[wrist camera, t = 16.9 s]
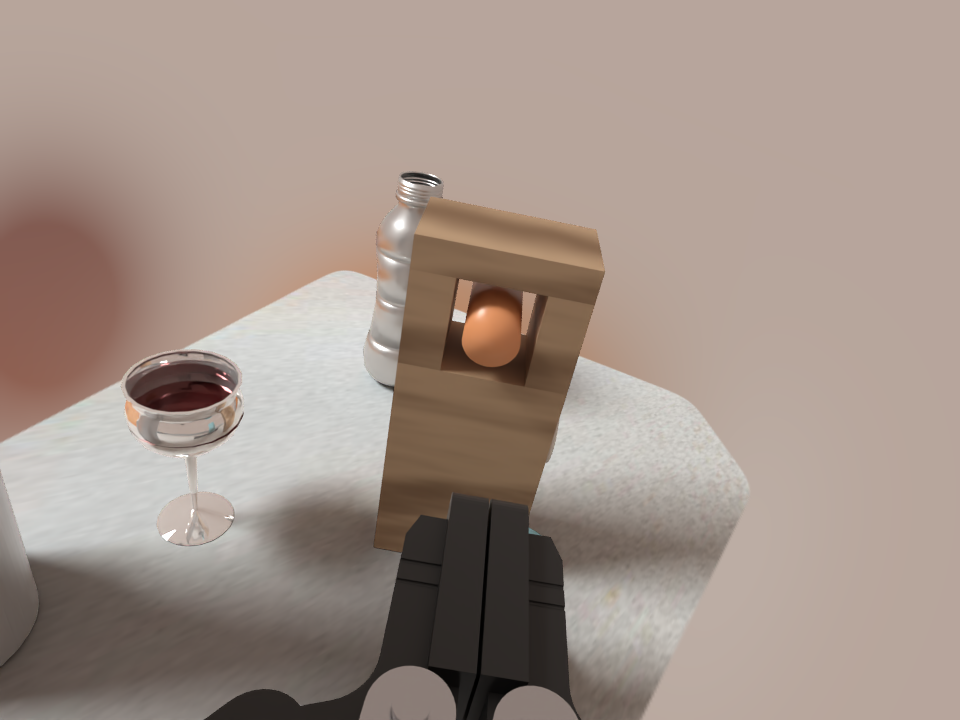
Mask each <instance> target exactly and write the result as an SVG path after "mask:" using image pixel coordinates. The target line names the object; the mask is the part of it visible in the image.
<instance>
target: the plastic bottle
mask: <svg viewBox="0 0 960 720" xmlns="http://www.w3.org/2000/svg"><path fill="white" fill-rule="evenodd" d="M442 193H443V180H441V179H440V178H439V177H437V176H434V175H431V174H428V173H423V172H414V171H409V172H403V173H401V174H400V175H399V180H398V189H397V191H396V198H397V200H399V202H398V204H397V205H396V206H395V207H394V208H393V209H392V210H391V211H390V212H389V213H388V214H387V215H386V216H385V218H384V219H383V220H382V222H381V223H380V226H379V228H378V231H377V235H376V246H377V247H376V249H377V272H378V275H377V292H376V303H375V308H374V313H373V317H372V322H371V327H370V330H369V332H368V335H367V338H366V341H365V345H364V349H363V356H364V365H365V368H366V369H367V371H368V372H369V374H370V375H371V377H373V378H374V379H375V380H376V381H378V382H380V383H382V384H385V385H388V386H393V387H394V386H395V378H396V370H397V362H398V355H399V347H400V339H401V332H402V324H403V316H404V309H405V301H406V293H407V286H408V278H409V270H410V263H411V255H412V247H413V239H414V233H415V231H416V229H417V226H418V224H419V222H420V220H421V217H422V215H423V213H424V211H425V208H426V206H427V204H428V202H429V199H430V197H436V198H441V199H443V197H442Z"/></svg>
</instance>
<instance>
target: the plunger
mask: <svg viewBox="0 0 960 720" xmlns="http://www.w3.org/2000/svg"><path fill="white" fill-rule="evenodd" d="M522 298H523V291H519V290H514V289H509V288H504V287H499V286H494V285H488V284H483V283H478V282H473V285H472V291H471V295H470V301H469V305H468V310H467V316H466V321H465V326H464V331H463V336H462V346H463V349H464V351H465V353H466V355H467V356H468V357H469V358H470V359H471V360H472V361H474V362H475V363H477V364H479V365H482V366H486V367H498V366H502V365H505V364H507V363H509V362H510V361H512V360H513V359H514V358H515V357H516V355H517V354H518V352H519V349H520V343H521V321H522V320H521V319H522Z"/></svg>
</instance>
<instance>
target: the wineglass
mask: <svg viewBox="0 0 960 720" xmlns="http://www.w3.org/2000/svg"><path fill="white" fill-rule="evenodd" d="M241 384H242V373H241V371H240V369H239V368H238V366H237V364H235V363H234V362H233V361H231V360H230V359H228V358H227V357H225V356H222V355H219V354H217V353H214V352H209V351H203V350H196V349H191V350H174V351H168V352H162V353H158V354H156V355H153V356H150V357H147V358H145V359H143V360H141V361H140V362H138V363H137V364H135V365H133V366H132V367H131V368H130V369H129V370H128V371H127V372H126V374H125V375H124V376H123V380H122V384H121V389H122V391H123V394H124V397H125V398H126V403H125V409H124V416H125V418H126V421H127V424H128V427H129V430H130V432H131V434H132V435H133V436H134V438H135V439H136V440H137V441H138V442H139V443H140V444H141V445H142V446H143V447H145V448H146V449H147V450H150V451H152V452H155V453H157V454H160V455H164V456H168V457H173V458H180V459H182V458H184V459H185V465H186V471H187V478H188V484H189V490H190V493H189V494H186V495H182V496H180V497H178V498H176V499H174V500H172V501H171V502H169V503H168V504H167V505H166V506H165V507H164V508H163V509H162V511H161V512H160V514H159V516H158V519H157V528H158V531H159V534H160V535H162V536H163V537H164V538H165V539H166V540H167V541H169V542H172V543H174V544H177V545H185V546H191V545H200V544H203V543H206V542H209V541H212V540H214V539H216V538H217V537H219V536H220V535H222V534H223V533H224V532H225V531H226V530H227V529H228V528H229V527H230V525H231V523H232V521H233V518H234V510H233V507H232V505H231V503H230V502H229V501H228V500H227V499H225V498H224V497H223V496H220V495H218V494H215V493H210V492H198V480H197V456H201V455H204V454H206V453H208V452H210V451H212V450H214V449H216V448H218V447H220V446H221V445H223V444H224V443H225V442H227V441H228V440H229V439H230V438H231V437H232V436H233V435H234V433H235V431H236V429H237V427H238V425H239V423H240V421H241V419H242V417H243V410H244V398H243V395H242V392H241V390H240V388H239V387H240V386H241Z"/></svg>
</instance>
